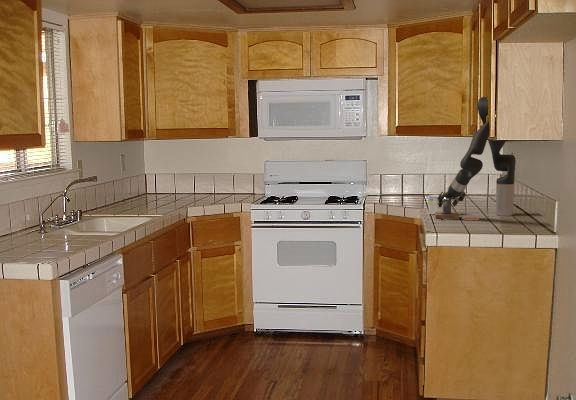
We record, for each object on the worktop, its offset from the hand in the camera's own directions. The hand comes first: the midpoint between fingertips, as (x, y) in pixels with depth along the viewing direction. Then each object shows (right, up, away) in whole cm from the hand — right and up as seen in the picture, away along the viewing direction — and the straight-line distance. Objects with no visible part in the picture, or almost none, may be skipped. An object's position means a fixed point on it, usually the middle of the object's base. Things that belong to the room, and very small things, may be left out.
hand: (446, 205), depth 340 cm
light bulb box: (0, -5, +17) cm, 17 cm away
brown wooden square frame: (0, -7, 0) cm, 7 cm away
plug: (0, -7, 0) cm, 7 cm away
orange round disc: (+11, -7, -5) cm, 14 cm away
